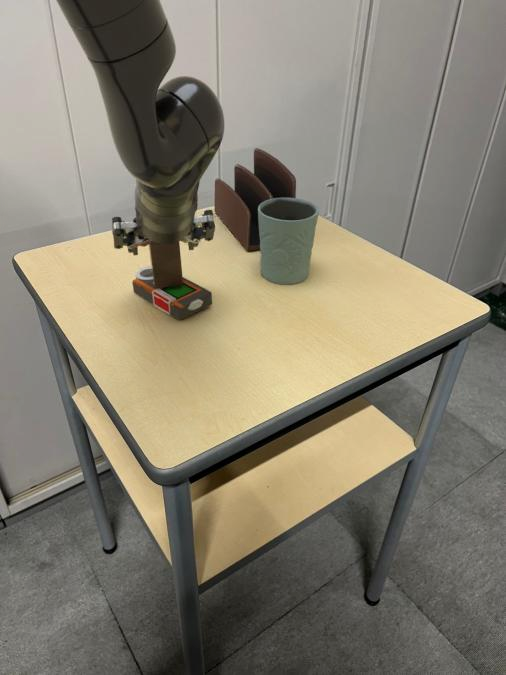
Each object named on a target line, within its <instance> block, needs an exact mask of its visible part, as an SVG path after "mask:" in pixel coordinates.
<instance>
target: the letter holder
mask: <svg viewBox="0 0 506 675" xmlns="http://www.w3.org/2000/svg"><path fill="white" fill-rule="evenodd" d="M233 170H234V171H233V172H234V174H233V175H234V177H233V178H234V179H233V180H234V187H231V186H230V185H229V184H228V183H227V182H226V181H224V180H222V179H221V178H218V177H216V178H215V179H214V213H215V214H216V215H217V217H218V218H219V219H220V220H221V222H222V223H223V224H224V225H225V227H227V228H228V229H229V232H230V233H231V234H232V235H233V236H234V237H235V238H236V239H237V241H238V242H239V243H240V244H241V246H242V247H243V248H244V249H245V251H247V252H253V251H260V235H259V221H258V206H259V205H260V204H261V203H262V202H264V201H266V200H270V199H274V198H297V196H296V195H297V179H296V177H295V175H294V174H293V173H292V172H291V171H290V169H288V167H287V166H286V165H284V163H282V162H281V161H280V160H279V159H278V158H276V157H275V156H273V155H272V154H270V153H269V152H267V151H265V150H263V149H261V148H259V147H258V148H257V147H255V148H254V149H253V172H252V171H251V170H249V169H248V168H246V167H245V166H243V165H241V164H239V163H236V164H235V165H234V168H233ZM233 188H234V189H233Z"/></svg>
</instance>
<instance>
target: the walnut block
mask: <svg viewBox="0 0 506 675" xmlns="http://www.w3.org/2000/svg"><path fill="white" fill-rule="evenodd" d="M148 250H149V258H150V264H151V265H150V267H152V275H153V281H154V285H155V288H164V287H173V286H182V285H183V277H184V276H183V268H182V254H181V245H180V241H179V242H176V243H173V244H159V243H156V242H153V243H151V244H149V245H148Z"/></svg>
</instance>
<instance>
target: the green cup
mask: <svg viewBox="0 0 506 675" xmlns="http://www.w3.org/2000/svg"><path fill="white" fill-rule="evenodd" d="M319 212H320V209H319V207H318V206H317V205H316V204H315V203H313V202H312V201H309V200H305V199H302V198H297V197H296V198H274V199H270V200H266V201H264V202H262V203H261V204H260V205H259V206H258V221H259V235H260V250H259V252H260V261H259V265H260V275H261V276H262V278H264V279H265V280H266V281H269V282H270V283H273V284H276V285H283V286H285V285H286V286H287V285H289V286H291V285H297V284H300V283H302V282H304V281H305V280H306V279H307V278H308V276H309V274H310V268H311V259H312V255H313V247H314V242H315V235H316V229H317V224H318V219H319Z"/></svg>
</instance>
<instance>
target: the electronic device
mask: <svg viewBox="0 0 506 675" xmlns="http://www.w3.org/2000/svg"><path fill="white" fill-rule="evenodd" d="M134 276H135V278H134V279H133V280H132V282H131V283H132V284H131V285H132V289H133V293H134V294H136V295H138V296H139V297H141V298H142V299H144V300H146V301H147V302H149V303H151V304H152V305H153V307H155V308H156V309H158V310H160V311H161V312H163V313H165V314H167V315H168V316H170V317H173V318H175V319H177V320H178V321H180V320H181V321H182V320H183V319H184V318H186V317H189V316H191V315H193V314H194V313H197V312H199V311H201V310H203V309H205V308H207V307H209V306H211V305H213V296H212V294H213V293H212V291H210V290H209V289H207V288H204V287H202V286H201V285H200V284H199V285H198V284H197V283H195V282H193V281H191V280H190V279H188V278H186V277H184V276H182V277H183V285H182V286H173V287H164V288H155V285H154V281H153V275H152V267H151V266H145V267H142V268H139V269H137V271H135V273H134Z"/></svg>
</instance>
